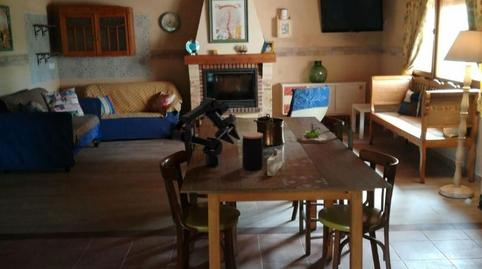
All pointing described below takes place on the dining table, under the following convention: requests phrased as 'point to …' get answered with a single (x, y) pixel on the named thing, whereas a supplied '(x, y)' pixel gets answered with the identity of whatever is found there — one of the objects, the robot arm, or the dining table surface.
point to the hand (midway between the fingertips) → (236, 141)
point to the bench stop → (274, 162)
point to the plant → (312, 136)
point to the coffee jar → (252, 151)
